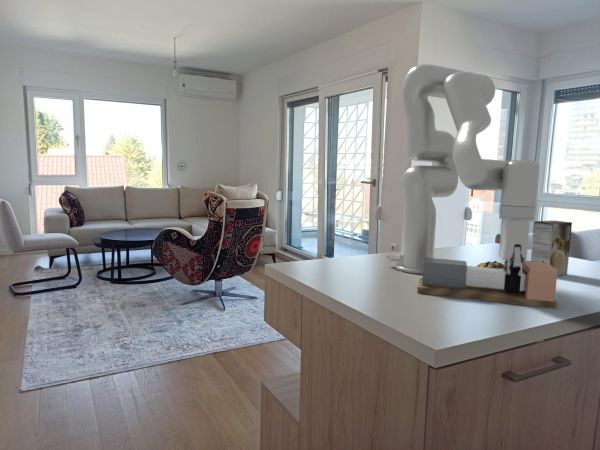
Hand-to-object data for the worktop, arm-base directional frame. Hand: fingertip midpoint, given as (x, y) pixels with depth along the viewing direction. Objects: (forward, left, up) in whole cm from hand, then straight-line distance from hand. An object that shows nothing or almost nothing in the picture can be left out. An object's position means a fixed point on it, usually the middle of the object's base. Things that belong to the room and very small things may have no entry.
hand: (510, 288), depth 101 cm
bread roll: (-1, +26, -3) cm, 26 cm away
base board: (-6, 0, -2) cm, 7 cm away
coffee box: (+15, +34, -2) cm, 37 cm away
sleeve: (-15, 0, -1) cm, 15 cm away
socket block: (+6, 0, -1) cm, 6 cm away
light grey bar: (-3, 0, 0) cm, 3 cm away
